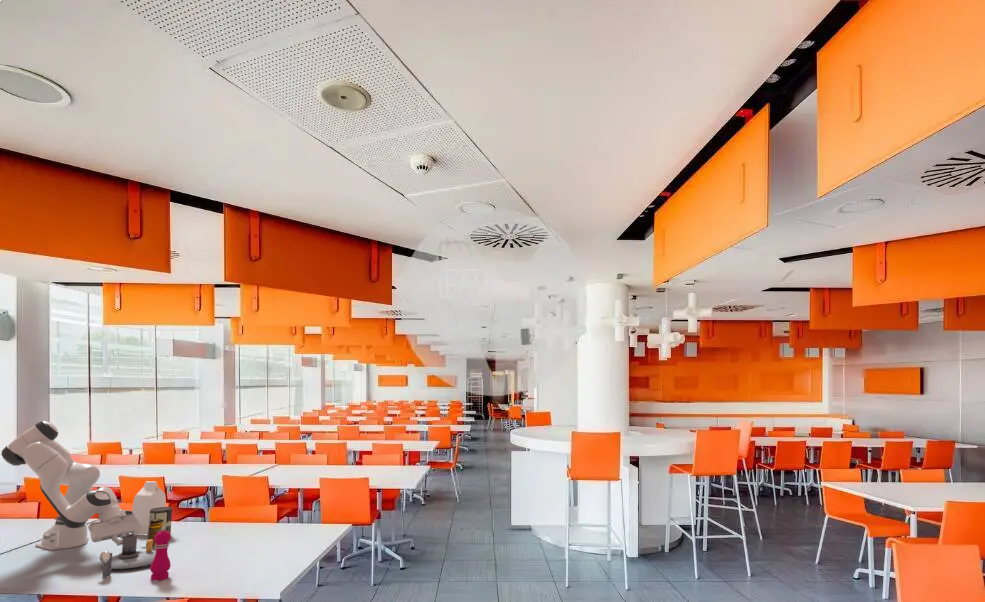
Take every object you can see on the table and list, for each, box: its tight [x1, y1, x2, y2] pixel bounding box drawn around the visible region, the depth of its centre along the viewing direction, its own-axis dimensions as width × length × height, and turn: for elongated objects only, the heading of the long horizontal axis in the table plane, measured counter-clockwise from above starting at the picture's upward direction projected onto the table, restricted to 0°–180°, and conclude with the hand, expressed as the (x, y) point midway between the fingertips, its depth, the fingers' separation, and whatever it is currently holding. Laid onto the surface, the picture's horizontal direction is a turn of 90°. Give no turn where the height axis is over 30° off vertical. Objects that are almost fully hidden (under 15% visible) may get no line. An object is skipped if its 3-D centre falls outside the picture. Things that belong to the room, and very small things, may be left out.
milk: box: [131, 480, 167, 536], centre depth 309 cm, size 12×12×26 cm
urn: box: [118, 533, 139, 559], centre depth 257 cm, size 8×8×10 cm
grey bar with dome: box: [99, 550, 113, 578], centre depth 237 cm, size 4×3×10 cm
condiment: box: [147, 519, 163, 546], centre depth 283 cm, size 7×8×12 cm
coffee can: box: [149, 506, 173, 535], centre depth 297 cm, size 10×10×14 cm
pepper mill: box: [149, 527, 172, 582], centre depth 235 cm, size 7×7×20 cm
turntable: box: [101, 539, 156, 570], centre depth 254 cm, size 24×24×6 cm
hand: (121, 544), depth 260 cm, fingers closed
